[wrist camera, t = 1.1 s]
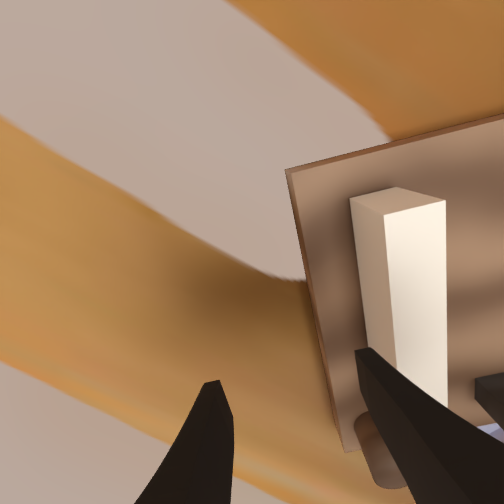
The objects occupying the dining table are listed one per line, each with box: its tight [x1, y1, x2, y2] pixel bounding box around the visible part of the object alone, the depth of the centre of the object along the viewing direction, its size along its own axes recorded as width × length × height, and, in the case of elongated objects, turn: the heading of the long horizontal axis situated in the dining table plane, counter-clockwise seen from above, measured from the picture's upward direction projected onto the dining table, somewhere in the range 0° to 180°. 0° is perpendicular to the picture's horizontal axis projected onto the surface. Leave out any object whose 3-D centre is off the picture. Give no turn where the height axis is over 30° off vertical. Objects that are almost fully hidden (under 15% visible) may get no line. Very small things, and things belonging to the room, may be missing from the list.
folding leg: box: [349, 187, 448, 408], centre depth 16 cm, size 15×3×4 cm, turn 14°
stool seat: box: [285, 113, 504, 489], centre depth 18 cm, size 22×22×6 cm
